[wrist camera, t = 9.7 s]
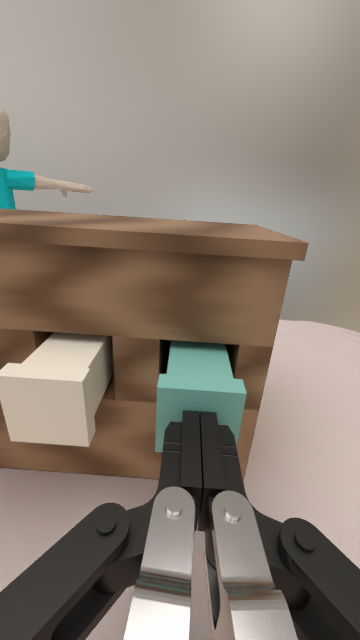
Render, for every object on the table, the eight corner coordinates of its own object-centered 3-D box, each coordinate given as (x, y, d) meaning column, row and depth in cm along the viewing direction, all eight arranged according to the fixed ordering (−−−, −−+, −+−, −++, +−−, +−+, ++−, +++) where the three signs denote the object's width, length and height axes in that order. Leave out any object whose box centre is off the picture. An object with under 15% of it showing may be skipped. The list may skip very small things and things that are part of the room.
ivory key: (10, 441, 13) (-7, 375, 12) (79, 350, 21) (74, 304, 20) (89, 446, 13) (82, 381, 12) (127, 353, 21) (126, 308, 20)
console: (-75, 467, 19) (-191, 210, 12) (15, 376, 29) (-22, 207, 22) (248, 491, 19) (308, 243, 12) (228, 391, 29) (255, 225, 22)
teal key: (155, 451, 13) (156, 387, 12) (168, 356, 21) (170, 311, 20) (234, 457, 13) (246, 393, 11) (217, 359, 21) (223, 314, 20)
